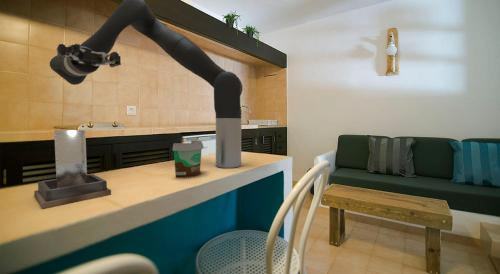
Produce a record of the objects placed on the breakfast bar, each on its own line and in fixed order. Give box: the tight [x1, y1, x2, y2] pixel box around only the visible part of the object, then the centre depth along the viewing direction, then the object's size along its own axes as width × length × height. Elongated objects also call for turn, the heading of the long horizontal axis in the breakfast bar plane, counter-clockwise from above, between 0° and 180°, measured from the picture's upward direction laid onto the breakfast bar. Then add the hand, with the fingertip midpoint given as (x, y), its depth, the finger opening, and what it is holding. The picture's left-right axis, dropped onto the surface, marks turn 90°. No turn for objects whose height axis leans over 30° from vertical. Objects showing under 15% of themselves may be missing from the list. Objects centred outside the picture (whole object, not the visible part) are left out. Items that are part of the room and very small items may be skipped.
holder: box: [33, 173, 112, 210], centre depth 50 cm, size 11×11×3 cm
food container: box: [172, 139, 205, 179], centre depth 69 cm, size 12×6×10 cm, turn 168°
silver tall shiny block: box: [53, 129, 88, 188], centre depth 49 cm, size 5×5×13 cm
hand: (98, 51), depth 60 cm, fingers open, 8 cm apart
